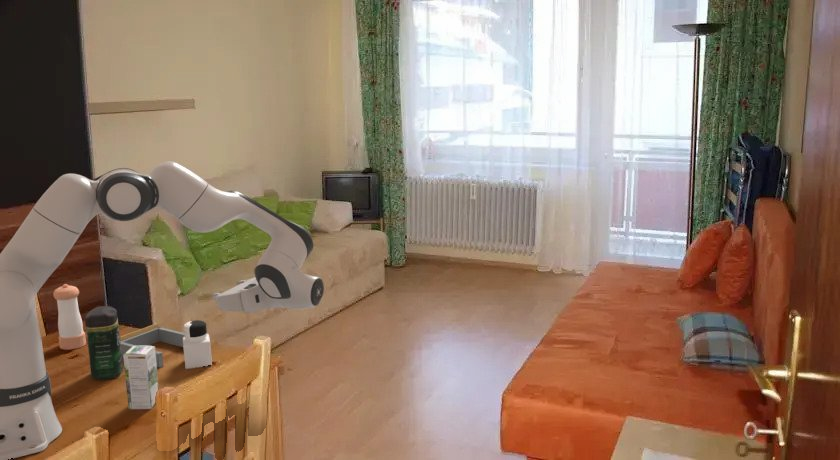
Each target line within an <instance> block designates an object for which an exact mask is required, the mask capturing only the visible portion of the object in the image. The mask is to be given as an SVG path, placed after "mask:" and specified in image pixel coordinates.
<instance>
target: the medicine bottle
mask: <svg viewBox="0 0 840 460" xmlns="http://www.w3.org/2000/svg"><path fill="white" fill-rule="evenodd" d="M207 331H208V329H207V323H206V322H205V321H204V320H197V319H195V320H190V321H187V322H186V323H184V325H183V333H184V336H185V337H183V347H182V348H183V357H184V367H185V369H186V370H189V369H196V367H197V368H203V366H205V367H209V366H208V365H211V366H212V365H213V359H212V350H211V349H212V348H211V346H212V345H211V339H210V333H208V332H207Z"/></svg>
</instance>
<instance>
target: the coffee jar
mask: <svg viewBox="0 0 840 460" xmlns="http://www.w3.org/2000/svg"><path fill="white" fill-rule="evenodd" d="M84 324H85V332H86V333H85V334H86V338H87V339H86V342H87V347H88V358H89V367H90V376H91V378H92V379H93V380H101V381H106V380H110V379H113V378H116V377H117V378H118V377H119V376H120V375H121V374H122V372H123V370H124V361H123V357H122V354H121V345H120V337H121V336H120V328H119V327H120V326H119V318H118V311H117V309H116V308H114V307H113V306H111V305H104V306H95V307H94V308H92V309H91V310H89V311H88V312H87V314H86V315H85V317H84Z"/></svg>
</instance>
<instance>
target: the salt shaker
mask: <svg viewBox="0 0 840 460" xmlns="http://www.w3.org/2000/svg"><path fill="white" fill-rule="evenodd" d="M52 294H53V295H52V296H53V298H54V299H55V300H56V303H57V312H58V317H57V320H58V321H57V329H58V334H59V335H58V336H57V337H58V344H59V348H60V349H61V350H66V351H67V350H68V351H69V350H75V349H79V348H82V347H84V346H86V344H87V339H86V338H87V337H86V333H85V332H86V331H84V325H83V320H82V316H81V313H80V309H79V304H78V302H79V301H78V296H79V294H80V290H79V288H78V287H77V286H74V285H69V284H67V283H64V284H63V285H62V286H59V287H58V288H55V289H54V291H53V293H52Z"/></svg>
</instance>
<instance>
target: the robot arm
mask: <svg viewBox="0 0 840 460" xmlns="http://www.w3.org/2000/svg"><path fill="white" fill-rule="evenodd" d="M156 207H158V208H159V209H162V210H164V211H165V212H166V213H168V214H169V215H170V216H171V217H173V218H174V219H176V220H177V221H178V222H179V223H181V224H182V225H183V226H184V227H186V228H188V229H189V230H191V231H193V232H195V233H201V234H202V233H203V234H204V233H205V234H206V233H211V232H214V231H216V230H219V229H221V228H222V227H223V226H225V225H227V224H228V223H230V222H232V221H235V220H243V221H245V222H247V223H249V224H250V225H253V227H254V226H255V227H256V228H258V229H260V230H261V231H263V232H265V233H266V234H268V235H269V236H270V238H271V241H270V243H269V244H268V246H267V248H266V249H265V251H264V252H263V253H262V255H261V257H260V258H259V260H258V262H257V264H256V266H255V268H254V271H253V272H254V277H252V278H248V279H244V280H242V279H241V280H239V281H237V282H236V285H235V286H233V287H231V288H230V289H227V290H225V291H223V292H222V291H217V292H214V293H212V297H213V300H214V301H216V307H217V309H218V310H220V311H222V312H223V311H224V312H234V313H236V312H237V313H238V312H244V314H247V315H248V314H250V315H251V314H254V313H257V312H260V311H263V310H270V309H282V308H286V309H288V310H306V309H307V310H308V309H313V308H315V307H318V305H319V304H320V302H321V300H323V299H322V298H323V296H324V291H325V286H324V285H325V284H324V280H323V279H322V278H321V277H319V276H317V275H316V276H315V275H309V274H306V273H305V272H303V271H302V270H301V268H302V267H303V264H304V263H305V261H306V260H307V258H308V257H309V255H310V254H311V252H312V251H313V250H314V240H313V238H312V236H311V234H310V231H308V229H306V227H304V226H302V225H300V224H298V223H295V222H293V221H290V220H288V219H286V218H284V216H283V217H282V216H281V215H279V214H278V213H276V212H274V211H272V210H271V209H269V207H266V206H264V205H263V204H261V203H260V202H257V201H256V200H255V199H252V198H251V197H249V196H247V195H246V194H243V193H242V192H239V191H236V190H229V191H223V190H222V189H221V190H220V189H218V188H215V187H214V186H213V185H211V184H210V183H209V182H207V181H206V180H205V179H203V178H202V177H201V176H199V175H198V174H196V173H195V172H193V171H192V170H190V169H188V168H187V167H185V166H183V165H182V164H180V163H178V162H176V161H172V160H171V161H170V160H169V161H164V162H162V163H159V164H158V165H157V166H155V167H154V168H153V169H152V170H151V171H150V172H149V173H146V174H141V173H140V172H138V171H136V170H134V169H131V168H129V167H128V168H126V167H119V168H115V169H112V170H110V171H108V172H105V173H103V174H101V175H99V176H97V177H95V178H94V179H90V178H88V177H86V176H83V175H81V174H77V173H65V174H62V175H61V176H59V177H58V178H57V179H56V180H55V181H54V182H53V183H52V184H51V185H50V186H49V187H48V189H46V191H45V192H44V193H43V194H42V195H41V197H40V198H39V199H38V200H37V201H36V203H35V204H34V206H33V207H32V209H31V210H30V212H29V213H28V214H27V216H26V218H25V219H24V221H22V223H21V225H20V226H19V228H18V229H17V230H16V232H15V234H14V235H13V236H12V238H11V239H10V240H9V242H8V243H7V244H6V246H5V247H4V248H3V250H2V251H1V252H0V460H8V459H9V460H12V459H11V458H13V459H16V458H17V459H18V458H20V457H23V456H28V455H32V454H36V453H40V452H42V451H44V450H46V448H47V447H48V446H49V444H51V442H53V441H54V440H55V439H57V438H58V437H59V436H60V435H61V433H62V431H63V426H62V425H61V423H60V421H59V419H58V416H57V415H56V411H55V408H54V405H53V402H52V387H51V386H52V385H51V384H52V383H51V378H50V376H49V372H47V370H46V362H45V356H44V348H43V347H44V346H43V342H42V341H43V340H42V337H41V332H40V331H41V330H40V326H39V321H38V315H37V314H38V313H37V308H36V296H37V294H38V293H39V290H40V289H41V288H42V287H43V285H44V284H45V283H46V281H47V280H48V279H49V277H51V275H52V274H53V273H54V272H55V271H56V270H57V268H58V267H59V266H60V265H62V263H63V261H64V260H65V258H66V257H67V255H68V254H69V253H70V251H71V250H72V248H73V246H75V244H76V242H77V241H78V240H79V238H80V237H81V235H82V233H83V232H84V230H85V229H86V227H87V225H88V224H89V223H90V221H92V220H93V218H94V217H96V216H97V215H99V214H101V213H103V214H104V215H106V216H107V217H108V218H110V219H112V220H115V221H119V222H129V221H133V220H135V219H138V218H140V217H142V216H143V215H145V214H146V213H148V212H149V211H150V210H153V209H155V208H156Z"/></svg>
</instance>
